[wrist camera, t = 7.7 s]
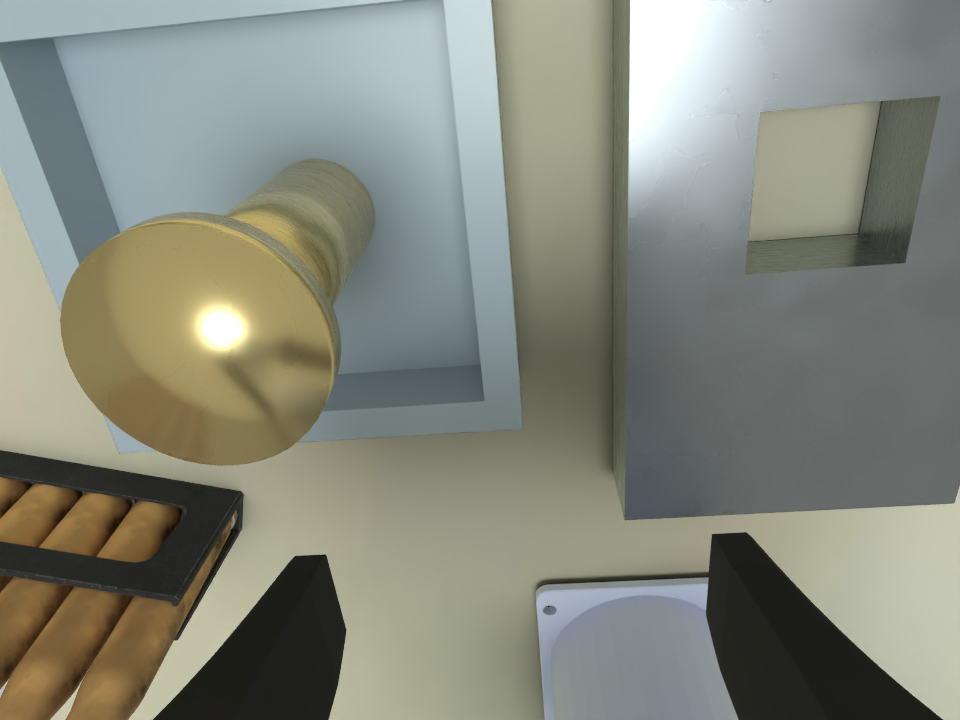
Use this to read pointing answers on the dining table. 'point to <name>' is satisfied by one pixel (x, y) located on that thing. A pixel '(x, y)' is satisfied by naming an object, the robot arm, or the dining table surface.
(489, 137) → the tray
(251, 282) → the gold flared cylinder
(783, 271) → the metal plate with hole
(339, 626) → the robot arm
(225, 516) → the ammunition clip
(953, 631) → the dining table surface
